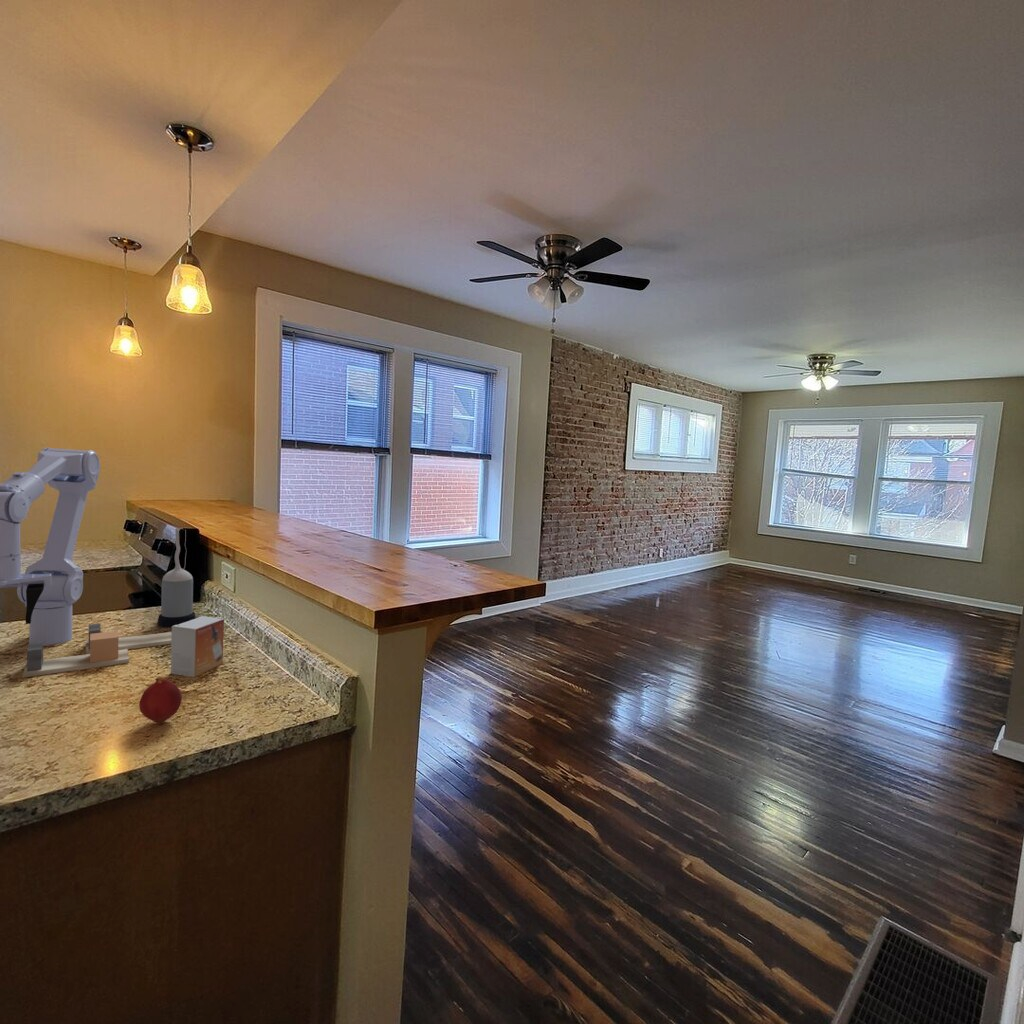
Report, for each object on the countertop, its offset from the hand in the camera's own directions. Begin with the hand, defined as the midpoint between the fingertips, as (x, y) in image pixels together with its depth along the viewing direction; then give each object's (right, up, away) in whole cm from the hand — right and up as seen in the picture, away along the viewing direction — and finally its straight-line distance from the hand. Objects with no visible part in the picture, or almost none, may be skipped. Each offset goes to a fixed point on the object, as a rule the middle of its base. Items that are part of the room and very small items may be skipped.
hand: (1, 625), depth 102 cm
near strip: (+11, -9, +5) cm, 15 cm away
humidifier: (+12, -8, +34) cm, 37 cm away
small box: (+33, -11, +7) cm, 36 cm away
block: (+14, -8, +7) cm, 18 cm away
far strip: (+13, -8, +17) cm, 23 cm away
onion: (+39, -14, -13) cm, 44 cm away
